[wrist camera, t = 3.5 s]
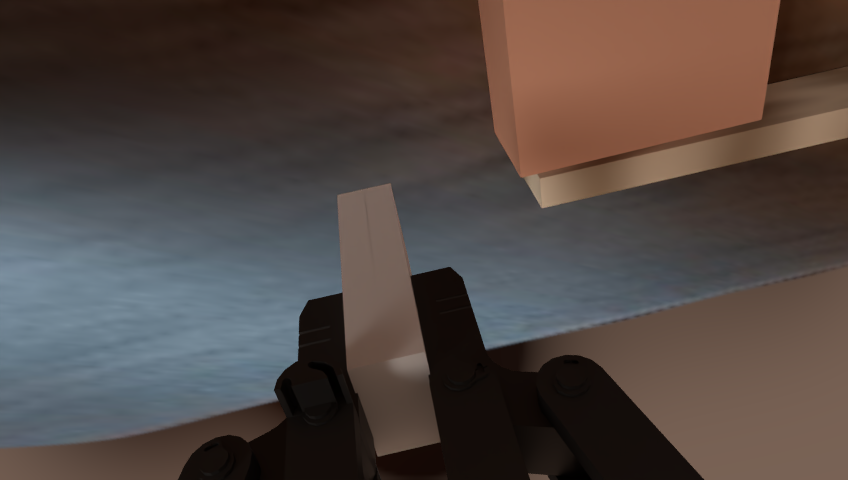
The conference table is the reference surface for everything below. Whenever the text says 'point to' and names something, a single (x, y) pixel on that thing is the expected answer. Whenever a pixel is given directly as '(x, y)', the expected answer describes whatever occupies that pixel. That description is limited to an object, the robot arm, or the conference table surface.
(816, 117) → the tan piece
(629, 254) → the conference table surface
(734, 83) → the block
